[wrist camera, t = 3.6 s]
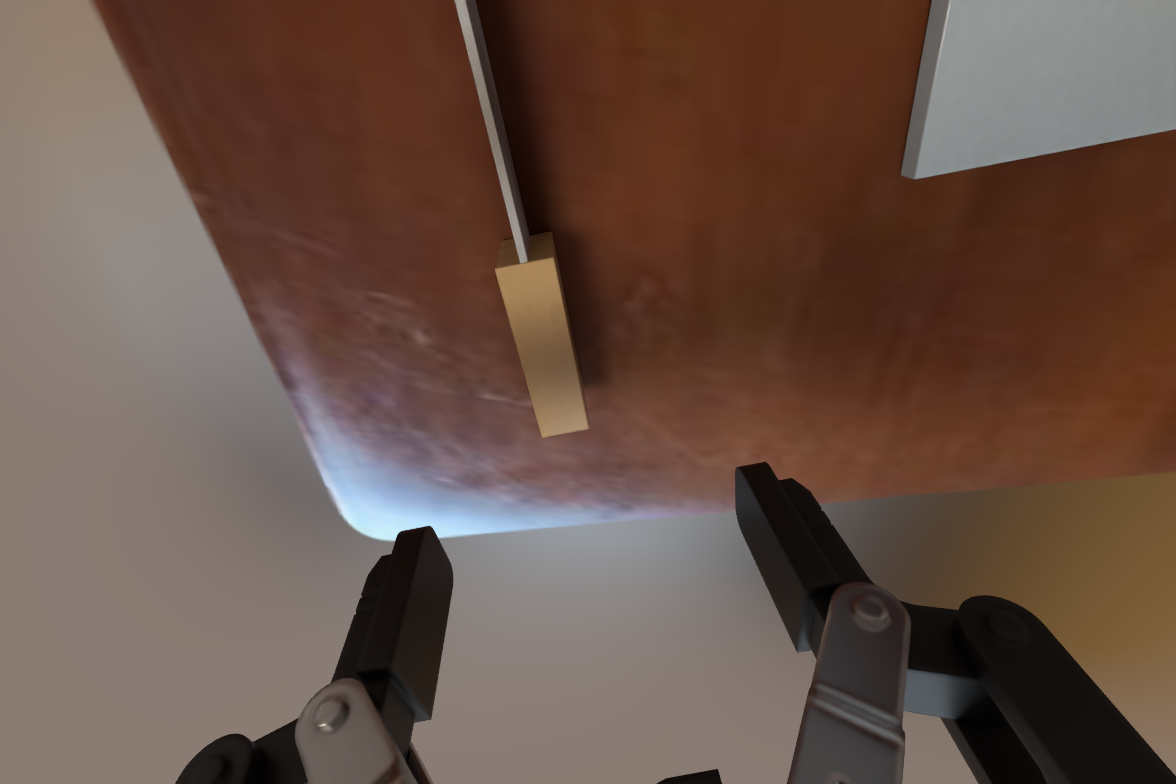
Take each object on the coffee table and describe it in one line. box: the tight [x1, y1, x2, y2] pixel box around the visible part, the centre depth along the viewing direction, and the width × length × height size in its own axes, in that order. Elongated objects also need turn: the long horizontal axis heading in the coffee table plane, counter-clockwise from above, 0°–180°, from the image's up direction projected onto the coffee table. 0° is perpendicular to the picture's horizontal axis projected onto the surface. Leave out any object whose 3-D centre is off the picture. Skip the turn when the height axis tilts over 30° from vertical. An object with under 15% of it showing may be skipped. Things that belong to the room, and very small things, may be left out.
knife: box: [455, 0, 589, 437], centre depth 19 cm, size 17×2×4 cm, turn 9°
